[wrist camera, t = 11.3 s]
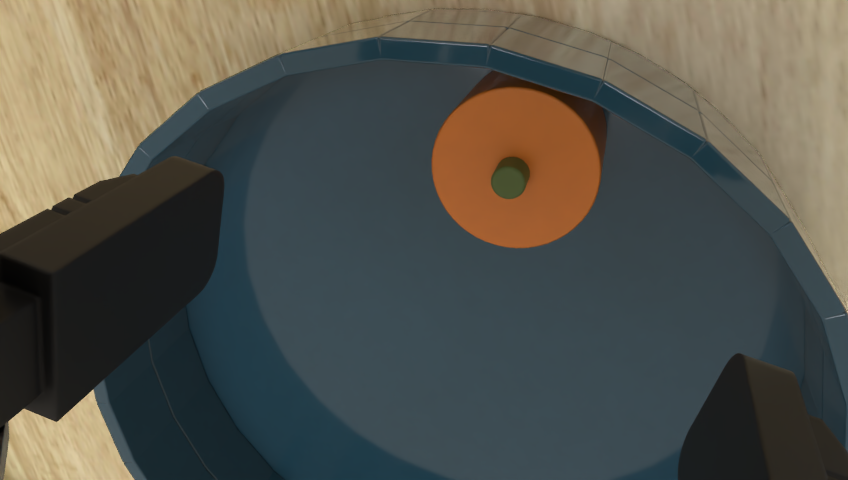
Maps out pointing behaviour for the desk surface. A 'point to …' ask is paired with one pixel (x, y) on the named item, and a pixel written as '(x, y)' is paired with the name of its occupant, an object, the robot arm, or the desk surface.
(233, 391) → the bowl
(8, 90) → the desk surface
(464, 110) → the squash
